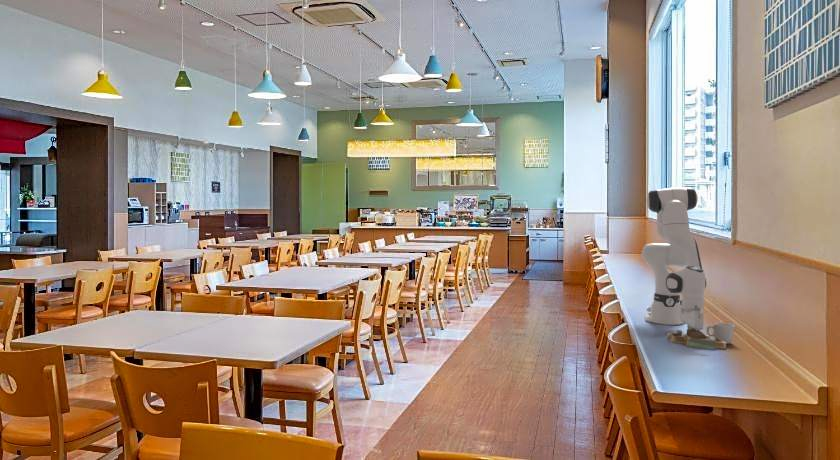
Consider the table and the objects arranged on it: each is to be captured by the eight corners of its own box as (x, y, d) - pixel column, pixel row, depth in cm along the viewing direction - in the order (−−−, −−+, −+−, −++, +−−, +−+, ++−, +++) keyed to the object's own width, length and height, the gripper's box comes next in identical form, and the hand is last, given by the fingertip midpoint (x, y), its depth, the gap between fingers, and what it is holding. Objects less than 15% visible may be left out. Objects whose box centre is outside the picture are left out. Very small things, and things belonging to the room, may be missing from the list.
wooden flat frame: (666, 337, 282) (666, 329, 282) (712, 339, 280) (712, 332, 280) (677, 346, 265) (678, 338, 264) (727, 349, 262) (727, 341, 262)
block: (686, 340, 277) (686, 329, 277) (698, 341, 277) (698, 329, 276) (689, 343, 272) (690, 331, 272) (701, 343, 272) (702, 332, 271)
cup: (705, 342, 275) (706, 323, 275) (706, 339, 282) (707, 320, 282) (733, 345, 270) (734, 327, 270) (734, 342, 277) (735, 323, 277)
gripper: (708, 308, 268) (706, 341, 268) (693, 301, 288) (691, 331, 289) (692, 307, 268) (690, 340, 269) (678, 300, 289) (676, 330, 289)
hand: (691, 335), depth 279 cm, fingers closed
